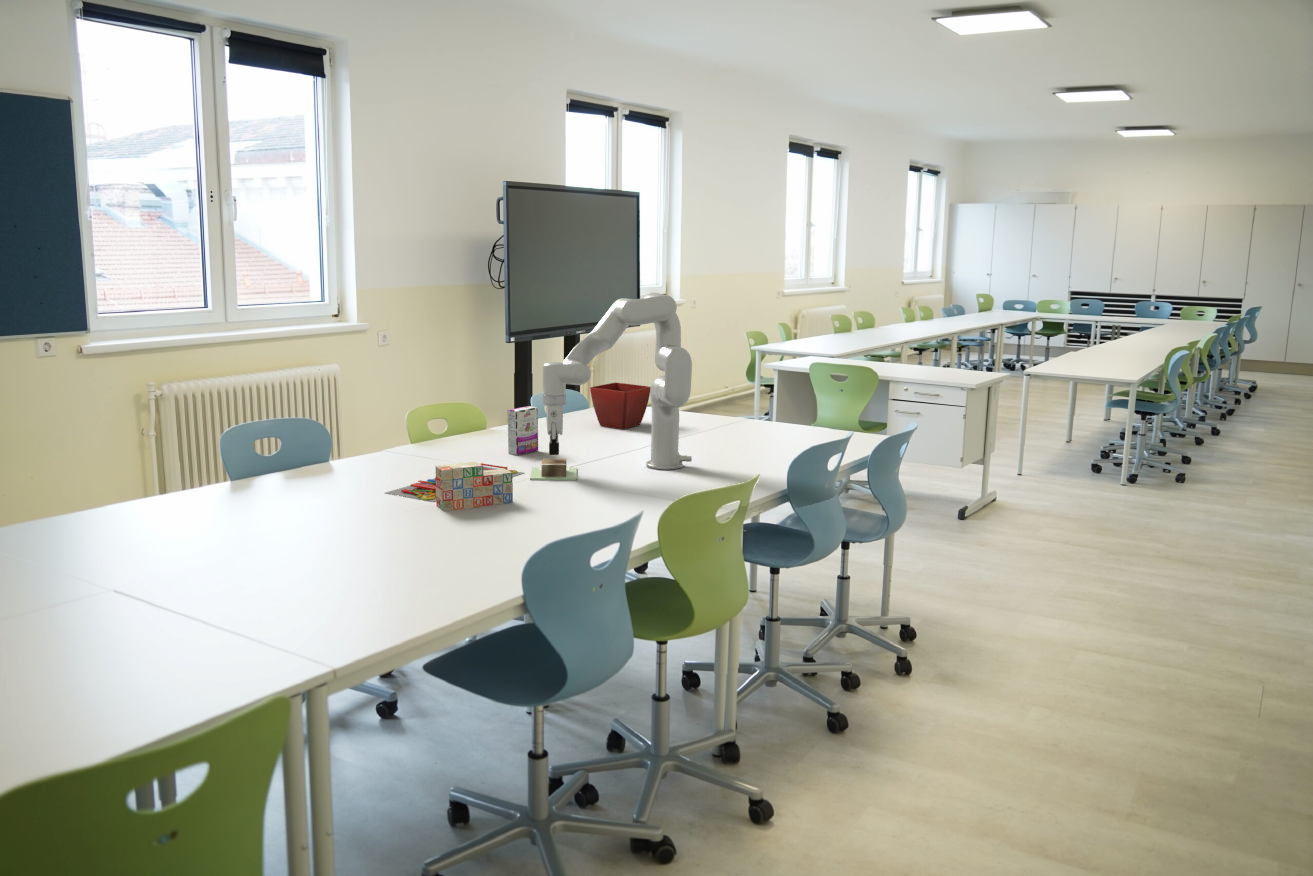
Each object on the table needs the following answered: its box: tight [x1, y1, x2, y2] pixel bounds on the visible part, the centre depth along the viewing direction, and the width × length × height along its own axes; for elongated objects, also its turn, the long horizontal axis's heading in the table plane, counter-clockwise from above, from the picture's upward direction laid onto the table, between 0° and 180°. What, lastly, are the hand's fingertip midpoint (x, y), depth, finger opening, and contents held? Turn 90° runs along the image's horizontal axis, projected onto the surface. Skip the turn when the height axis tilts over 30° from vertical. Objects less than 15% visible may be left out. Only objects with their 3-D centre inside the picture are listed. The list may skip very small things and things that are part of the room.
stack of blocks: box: [434, 461, 514, 512], centre depth 286 cm, size 21×6×12 cm, turn 120°
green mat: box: [529, 466, 578, 481], centre depth 327 cm, size 15×16×1 cm
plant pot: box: [589, 382, 651, 430], centre depth 415 cm, size 19×19×17 cm
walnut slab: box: [540, 458, 568, 477], centre depth 325 cm, size 8×4×9 cm
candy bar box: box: [507, 405, 539, 456], centre depth 358 cm, size 11×5×16 cm, turn 143°
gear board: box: [385, 462, 525, 503], centre depth 313 cm, size 45×2×19 cm
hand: (554, 454), depth 327 cm, fingers closed
